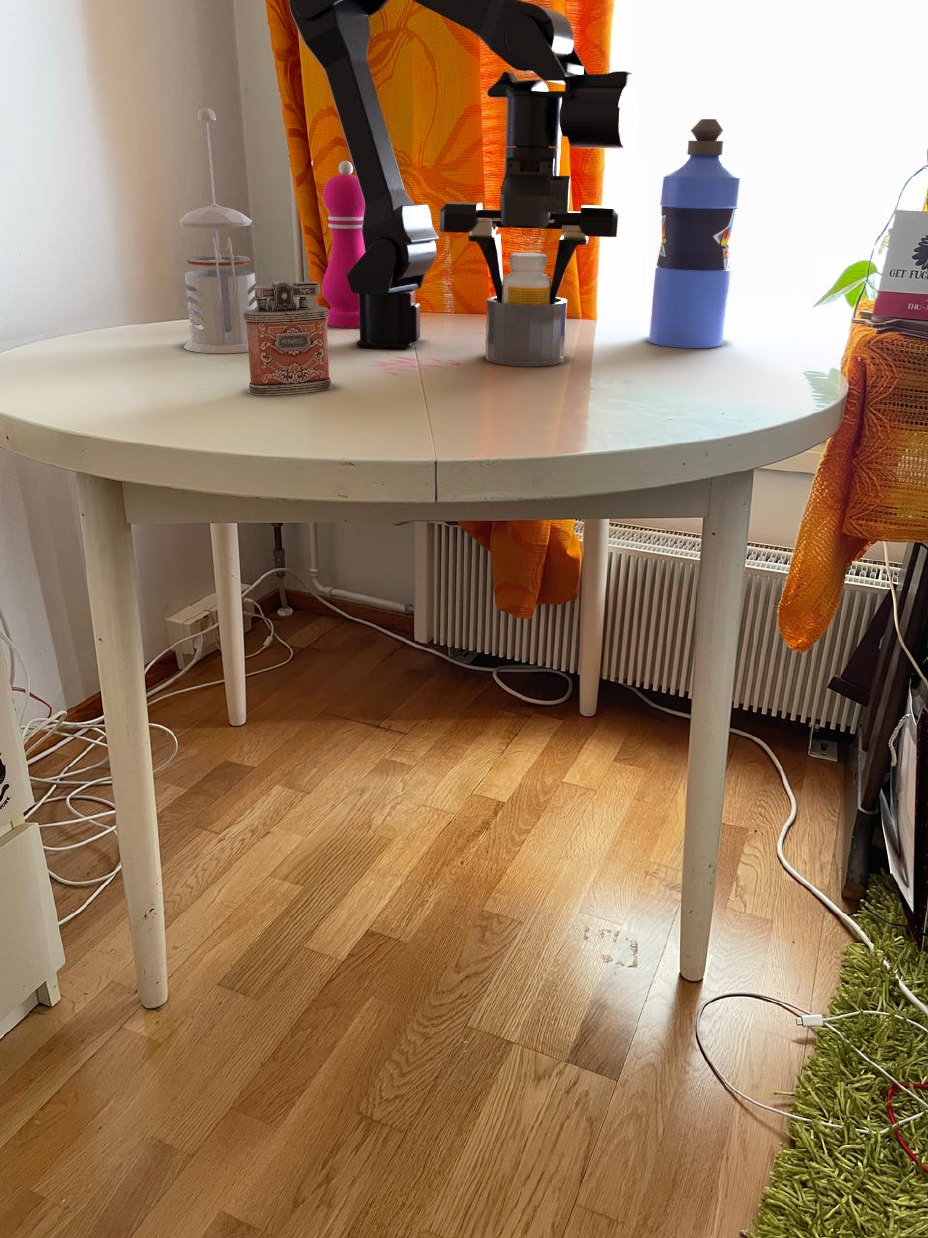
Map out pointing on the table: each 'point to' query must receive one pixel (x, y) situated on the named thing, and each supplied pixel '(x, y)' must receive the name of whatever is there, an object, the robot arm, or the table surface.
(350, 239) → the pepper mill
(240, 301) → the french press
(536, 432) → the table surface
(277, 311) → the lighter
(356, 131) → the robot arm
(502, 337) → the grey cylindrical cup
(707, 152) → the water bottle
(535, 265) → the supplement bottle
